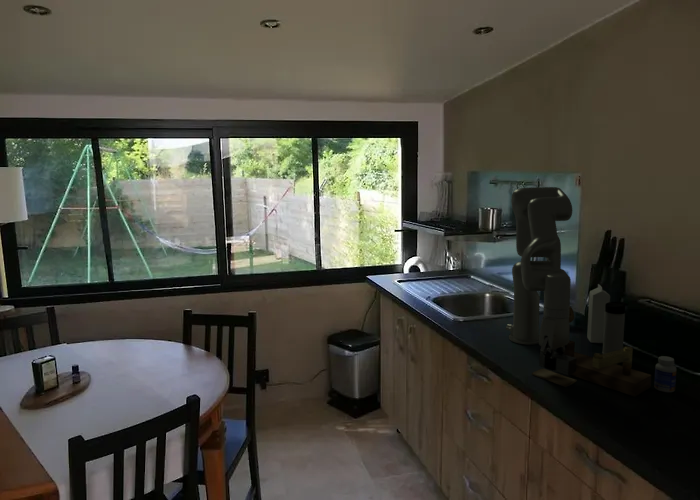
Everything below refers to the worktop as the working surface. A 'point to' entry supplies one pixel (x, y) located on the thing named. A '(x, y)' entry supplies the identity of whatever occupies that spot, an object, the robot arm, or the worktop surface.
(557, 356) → the black rectangular block
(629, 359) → the lever
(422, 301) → the worktop surface
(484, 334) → the worktop surface
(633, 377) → the plane body
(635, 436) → the worktop surface
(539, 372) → the cork pad
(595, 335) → the milk
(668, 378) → the pill bottle
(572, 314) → the natural sponge
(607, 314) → the travel mug
